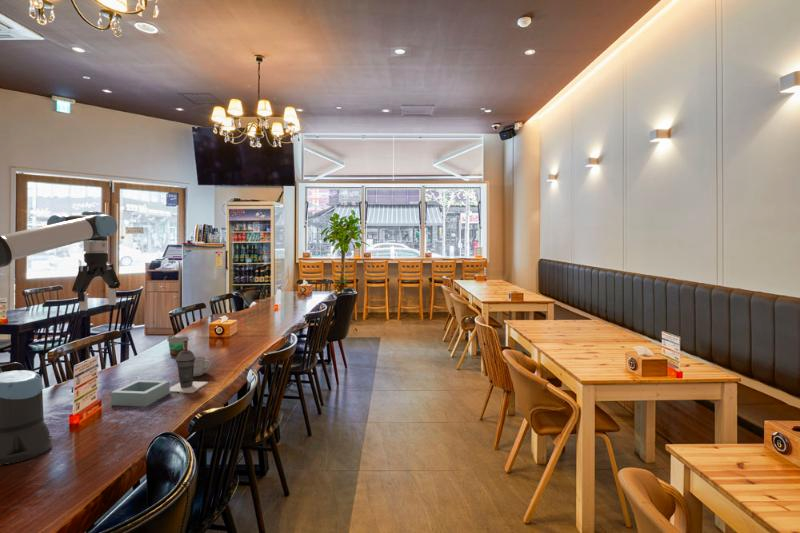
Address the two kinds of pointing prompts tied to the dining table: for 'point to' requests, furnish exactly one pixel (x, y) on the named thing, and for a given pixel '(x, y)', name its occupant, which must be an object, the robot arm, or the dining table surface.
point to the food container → (177, 344)
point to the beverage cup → (185, 367)
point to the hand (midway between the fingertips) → (98, 307)
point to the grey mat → (191, 389)
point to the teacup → (200, 365)
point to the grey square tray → (140, 393)
